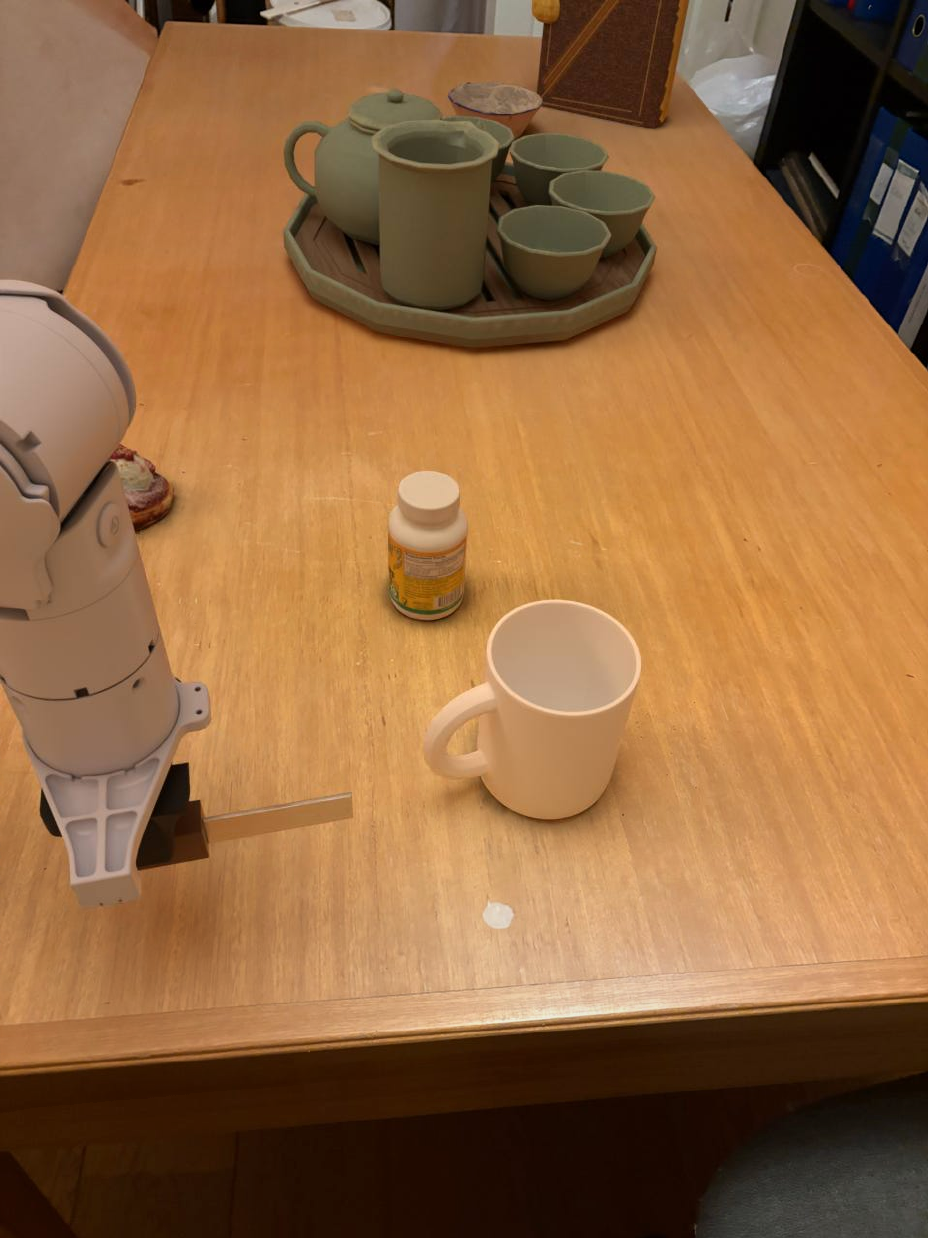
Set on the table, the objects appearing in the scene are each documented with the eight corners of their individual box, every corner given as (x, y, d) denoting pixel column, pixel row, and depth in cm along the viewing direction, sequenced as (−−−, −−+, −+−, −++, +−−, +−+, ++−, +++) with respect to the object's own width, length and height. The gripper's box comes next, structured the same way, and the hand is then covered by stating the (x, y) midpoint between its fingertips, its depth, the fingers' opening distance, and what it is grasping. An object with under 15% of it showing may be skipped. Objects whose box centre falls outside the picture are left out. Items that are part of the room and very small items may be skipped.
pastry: (186, 481, 74) (175, 428, 70) (155, 543, 69) (142, 490, 65) (87, 471, 74) (71, 418, 71) (49, 532, 69) (30, 479, 65)
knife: (99, 878, 43) (87, 852, 41) (100, 844, 44) (88, 817, 43) (356, 832, 46) (354, 805, 44) (350, 801, 47) (348, 773, 45)
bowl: (430, 135, 129) (431, 97, 125) (472, 110, 137) (474, 73, 134) (515, 156, 125) (518, 117, 122) (552, 128, 133) (556, 91, 130)
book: (671, 115, 140) (712, -91, 122) (655, 132, 135) (694, -82, 117) (536, 87, 146) (556, -114, 128) (515, 102, 140) (532, -105, 122)
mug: (445, 862, 52) (452, 754, 44) (398, 747, 57) (398, 633, 50) (634, 801, 55) (670, 691, 48) (574, 698, 61) (598, 585, 53)
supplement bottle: (457, 627, 64) (464, 521, 57) (381, 616, 65) (379, 510, 58) (468, 575, 68) (476, 469, 61) (396, 565, 68) (396, 458, 62)
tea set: (708, 334, 94) (752, 164, 83) (314, 369, 86) (300, 186, 74) (579, 179, 121) (598, 34, 109) (268, 195, 112) (252, 40, 101)
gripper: (201, 787, 29) (249, 967, 39) (184, 500, 39) (226, 702, 49) (-40, 827, 28) (72, 1004, 38) (4, 519, 38) (85, 724, 47)
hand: (148, 836), depth 43 cm, fingers closed on knife, 2 cm apart
